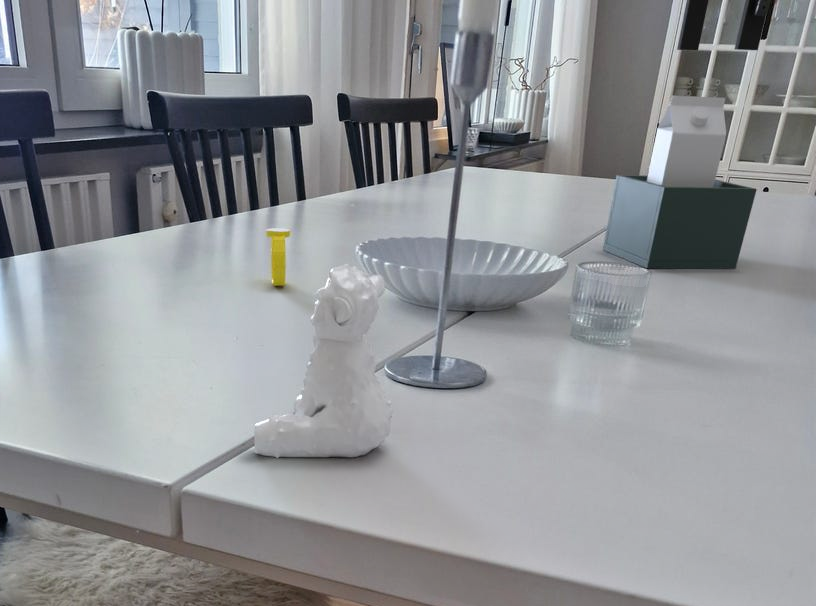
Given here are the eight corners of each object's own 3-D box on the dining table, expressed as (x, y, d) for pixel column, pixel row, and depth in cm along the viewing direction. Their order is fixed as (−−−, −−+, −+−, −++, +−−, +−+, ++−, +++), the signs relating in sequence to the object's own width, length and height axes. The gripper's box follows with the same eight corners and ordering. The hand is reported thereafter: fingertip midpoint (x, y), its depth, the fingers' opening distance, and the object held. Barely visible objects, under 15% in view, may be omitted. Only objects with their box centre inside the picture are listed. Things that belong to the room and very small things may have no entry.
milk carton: (633, 245, 132) (664, 94, 121) (681, 247, 132) (716, 96, 121) (646, 254, 126) (680, 96, 115) (697, 256, 126) (735, 99, 116)
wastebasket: (735, 268, 125) (757, 188, 119) (647, 268, 122) (664, 187, 117) (684, 250, 136) (702, 176, 130) (602, 250, 133) (616, 174, 128)
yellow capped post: (291, 290, 103) (291, 234, 100) (267, 290, 103) (267, 233, 100) (288, 279, 108) (288, 225, 105) (265, 278, 108) (264, 225, 105)
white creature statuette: (303, 413, 68) (306, 243, 62) (410, 432, 66) (425, 257, 59) (246, 454, 61) (243, 267, 54) (364, 478, 58) (376, 284, 52)
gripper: (678, -152, 113) (641, 49, 125) (803, -198, 93) (745, 48, 104) (731, -148, 114) (690, 51, 126) (865, -191, 94) (802, 51, 106)
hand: (715, 50), depth 115 cm, fingers open, 13 cm apart
